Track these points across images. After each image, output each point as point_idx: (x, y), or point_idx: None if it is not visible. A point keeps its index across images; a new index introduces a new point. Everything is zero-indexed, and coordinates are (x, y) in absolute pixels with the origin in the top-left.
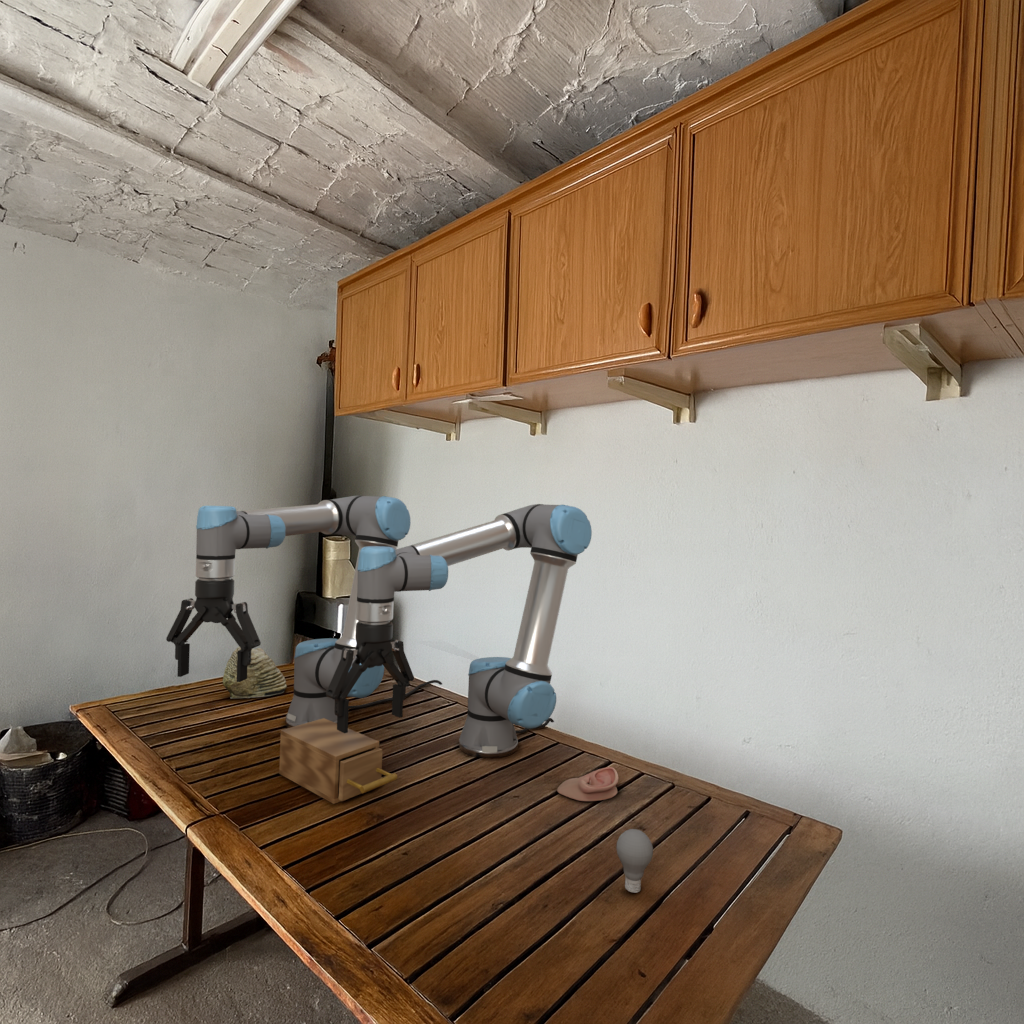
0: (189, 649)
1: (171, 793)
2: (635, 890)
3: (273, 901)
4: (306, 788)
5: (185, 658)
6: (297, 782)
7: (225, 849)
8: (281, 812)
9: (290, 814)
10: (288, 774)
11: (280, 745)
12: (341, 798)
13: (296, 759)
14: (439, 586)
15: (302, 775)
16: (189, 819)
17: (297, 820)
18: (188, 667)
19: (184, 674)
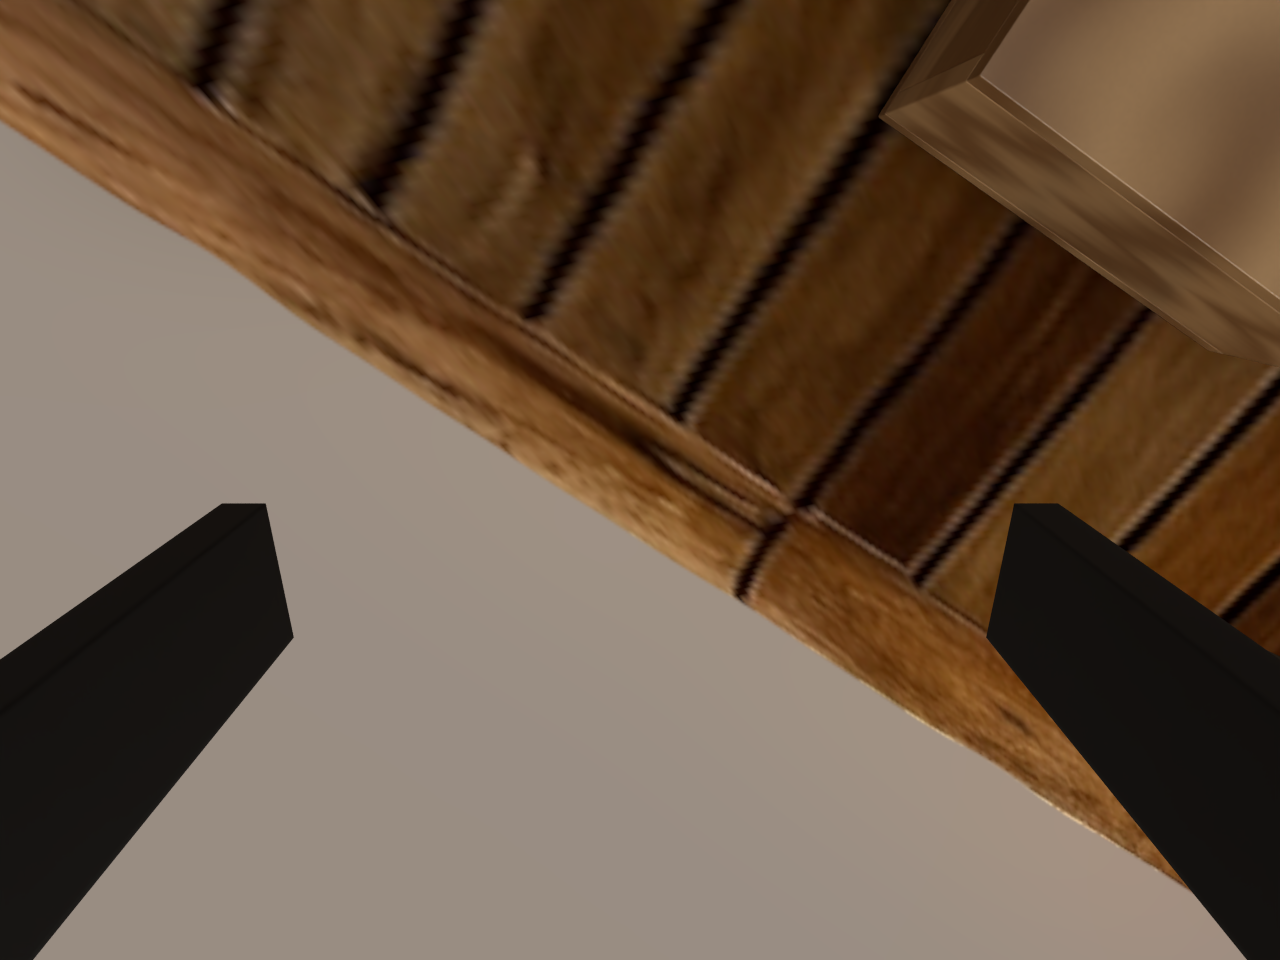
0: (12, 708)
1: (525, 416)
2: None
3: (1132, 826)
4: (1061, 245)
5: (149, 703)
6: (1008, 207)
7: (921, 681)
8: (1015, 454)
9: (1053, 460)
10: (952, 161)
11: (939, 96)
12: (1267, 364)
13: (1055, 195)
14: None
15: (1062, 227)
16: (717, 565)
17: (1091, 492)
18: (222, 546)
19: (277, 584)
